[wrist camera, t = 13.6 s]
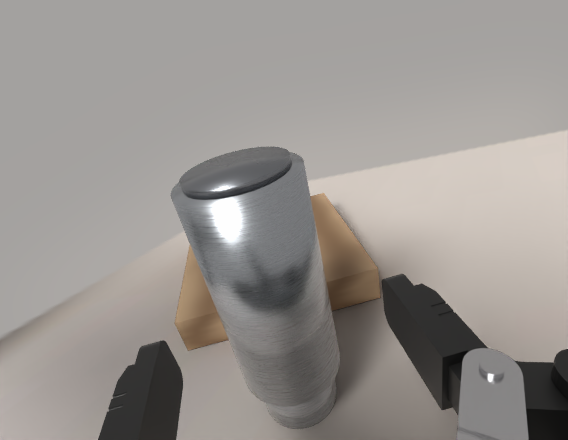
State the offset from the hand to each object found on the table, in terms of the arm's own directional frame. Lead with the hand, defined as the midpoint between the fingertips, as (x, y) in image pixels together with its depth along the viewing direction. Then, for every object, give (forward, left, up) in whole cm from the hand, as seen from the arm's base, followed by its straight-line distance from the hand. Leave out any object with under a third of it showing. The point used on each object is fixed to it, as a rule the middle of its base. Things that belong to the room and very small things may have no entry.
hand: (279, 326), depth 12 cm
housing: (0, +19, -11) cm, 22 cm away
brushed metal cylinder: (0, +5, -11) cm, 12 cm away
